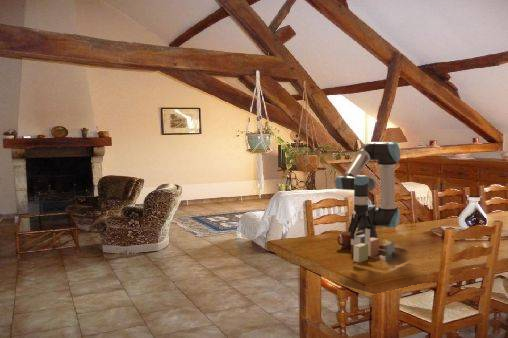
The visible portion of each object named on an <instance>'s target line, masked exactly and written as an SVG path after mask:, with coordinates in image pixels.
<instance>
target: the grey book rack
mask: <svg viewBox="0 0 508 338" xmlns="http://www.w3.org/2000/svg"><path fill="white" fill-rule="evenodd" d="M355 233H356V236H358V235H361V234H364V231H358V232H357V231H355ZM353 246H354V245H351V249H350V254H353ZM394 256H396V257H399V258H398V259H401V253H400V252H395V254H394ZM368 258H372V259H376V260H381V261H383V262H384V261H385V262H392V261H388V260H385V249H380V248H379V254H378V255H375V256H372V257H369V256H368ZM395 260H397V259H395ZM395 260H394V261H395Z"/></svg>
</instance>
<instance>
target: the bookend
mask: <svg viewBox="0 0 508 338" xmlns="http://www.w3.org/2000/svg"><path fill="white" fill-rule="evenodd" d="M395 245H396V244H395V243H394V242H391V243H389V244H385V249H384V250H385V260H388V261H387V262H389V261H391V262H393V261H395V259H396V260H398V259H400V258H399V257H396V256H394V254H395V250H396V247H395Z"/></svg>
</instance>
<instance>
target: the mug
mask: <svg viewBox="0 0 508 338" xmlns="http://www.w3.org/2000/svg"><path fill="white" fill-rule="evenodd" d="M340 238H341V242H340ZM336 240H337V244H338V245H339V246H340V247H341V249H344V250H351V232H348V231H342V232H340V235H338V236H337V239H336Z"/></svg>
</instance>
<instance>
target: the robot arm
mask: <svg viewBox="0 0 508 338" xmlns="http://www.w3.org/2000/svg"><path fill="white" fill-rule="evenodd" d="M370 161H371V162H372V161H374V162H377V165H378V166H379V171H380V172H379V173H380V177H379V179H380V204H379V205H378V206H377V205H375V204H369V192H370V191H374V190H375V188H376V186H377V181H376V179H374V177H371V176H368V175H363V174H362V175H361V173H362V171H363V169H364V168H365V166H366V164H368V163H370ZM399 161H401V150H400V147H399V144H398V143H396V142H391V141H371V142H368V143H366V144H364V145H362V146H361V147H360V148H359V149H357V151H356V152H355V155H354V159H353V160H352V161H351V163H350V164H349V166H348V167H347V168H346V170H345V171H344V174H342V176H341V175H339V176H336V177H335V180H334V186H335V189H337V190H343V191H345V190H346V191H353V192H354V193H353V203H354V204H353V211H355V213H352V214H351V219H350V223H349V226H348V229H347V232H351V245H356V233H355V232H358V231H364V234H365V240H366V241H370V238H372V237H373V238H378V239H379V240H380V238H379V236H378V232H377V227H381V228H384V227H385V228H389V229H390V228H394V229H395V228H397V227H398V226H399V223H400V220H401V216H402V213H401V209H398V205H397V204H396V198H395V197H396V192H395V190H396V189H395V188H396V187H395V184H396V183H395V182H396V181H395V179H396V178H395V177H396V175H395V173H396V171H395V167H396V165H398V162H399Z"/></svg>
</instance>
